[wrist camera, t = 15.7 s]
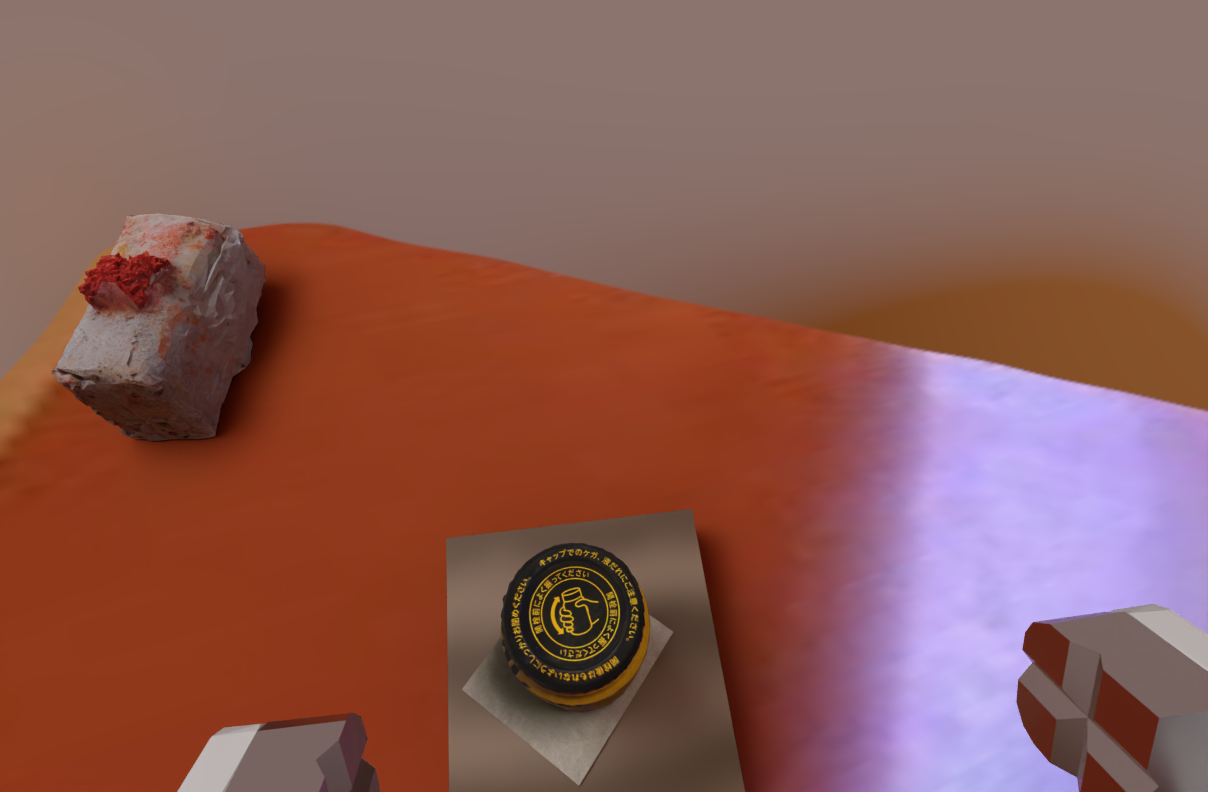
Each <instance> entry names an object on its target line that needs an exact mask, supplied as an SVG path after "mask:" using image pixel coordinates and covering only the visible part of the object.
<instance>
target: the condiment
mask: <svg viewBox="0 0 1208 792" xmlns="http://www.w3.org/2000/svg"><path fill="white" fill-rule="evenodd" d="M502 600H503V608H502V611H501V619H502V620H501V632H500V633H501V637H500V638H499V640H498V641H497V642H496V644H495V645H494V646H493V648H492V649H491V651H490V652H489V653H488V655H487V656H486V657H485V659H484V660H483V662H482V663H481V664H480V665H479V667H478V668H477V670H476V671H475V672H474V673H473V675H472V676H471V678H470V679H469V680H468V682H467V683H466V685H465V686H464V687H463V689H462V690H463V691H464V692H465V693H467V694H468V695H469V696H470V697H471V698H473V699H474V700H475V701H477V702H478V703H479V704H480V705H481V706H483V707H484V708H485V709H486V710H488V711H489V712H490V713H491V714H493V715H494V716H495V717H496V718H498V719H499V720H500V721H501V722H502V723H503V724H505V725H506V726H507V727H509V728H510V729H511V730H512V731H513V732H515V733H516V734H517V735H518V736H519V737H521V738H522V739H523V740H524V741H525V742H527V743H529V744H530V746H532V747H533V748H534V749H535V750H536V751H538V752H539V753H540V754H541V755H542V756H544V757H545V758H546V759H547V760H548V761H550V762H551V763H552V764H553V765H555V766H556V767H557V768H558V769H560V770H561V771H562V772H563V773H564V774H565V775H567V776H568V777H569V778H570V779H572V780H573V781H574V782H575V783H576V784H578V785H580V783H581V782H582V780H583V778H584V777H585V775H586V774H587V772H588V770H589V769H590V767H591V765H592V764H593V762H594V761H595V759H596V757H597V756H598V754H599V752H600V751H601V749H602V748H603V746H604V744H605V743H606V741H607V739H608V737H609V736H610V734H611V733H612V731H613V730H614V728H615V726H616V725H617V723H618V722H619V720H620V718H621V717H622V715H623V713H624V712H625V710H626V709H627V707H628V705H629V704H630V702H631V700H632V699H633V697H634V695H635V694H636V692H637V691H638V689H639V687H640V686H641V684H642V682H643V681H644V679H645V678H646V676H647V674H648V673H649V671H650V669H651V668H652V666H653V665H654V663H655V661H656V660H657V658H658V656H659V655H660V653H661V652H662V650H663V648H664V647H665V645H666V643H667V642H668V640H669V639H670V637H671V635H672V634H673V631H672V630H670V629H669V628H667V627H666V626H665V625H663V624H662V623H660V622H659V621H658V620H656V619H655V618H653V617H652V616H650V615H649V612H648V606H647V603H646V599H645V595H644V593H643V591H642V590H641V588H640V586H639V584H638V582H637V580H636V578H635V577H634V576H633V575H632V573H631V572H630V570H629V568H628V566H627V565H626V564H625V563H624V562H623V561H622V560H620V559H619V558H617V557H616V556H615V555H614V554H613V553H611V552H608V551H606V550H604V549H603V548H600V547H597V546H592V545H587V544H585V543H565V544H559V545H554V546H552V547H550V548H547V549H544V550H543V551H541V552H539V553H538V554H536V555H535V556H533V557H532V558H531V559H529V560H528V561H527V562H526V563H525V564H524V565H523V566H522V567H521V568H520V569H519V570H518V572H517V573H516V574H515V576H514V579H513V580H512V581H511V582H510V583H509V586H508V590H507V593H506V594H505V595H504V596H503V599H502Z"/></svg>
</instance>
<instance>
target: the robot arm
mask: <svg viewBox="0 0 1208 792" xmlns="http://www.w3.org/2000/svg"><path fill="white" fill-rule="evenodd" d="M1023 651H1024V652H1025V654H1026V655H1027V656H1028V658H1029V659H1030V660H1031V662H1032V664H1031V665H1030V666H1029V667H1028V669H1027V670H1026V671H1025V672H1024V673H1023V675H1022V676H1021V677H1020V678H1019V679H1018V690H1017V705H1018V709H1019V712H1020V716H1021V719H1022V722H1023V726H1024V727H1025V729H1026V731H1027V733H1028V734H1029V736H1030V738H1031V740H1032V741H1033V743H1034V744H1035V746H1036V747H1037V748H1038V749H1039V750H1040V752H1041V753H1042V754H1043V755H1044V756H1045V757H1046V759H1047V760H1048V761H1049V762H1050V763H1052V764H1053V765H1055V766H1057V767H1059V768H1061V769H1063V770H1065V771H1066V772H1068V773H1070V774H1072V775H1074V776H1076V777H1077V779H1078V788H1079V792H1208V634H1207V633H1205V632H1204V631H1202V630H1201V629H1199V628H1198V627H1196V626H1195V625H1193V624H1192V623H1190V622H1189V621H1187V620H1186V619H1184V618H1183V617H1181V616H1180V615H1178V614H1177V613H1175V612H1174V611H1172V610H1170V609H1167V608H1164V607H1161V606H1158V605H1155V604H1150V605H1143V606H1137V607H1130V608H1124V609H1117V610H1113V611H1111V612H1101V613H1094V614H1087V615H1080V616H1073V617H1066V618H1059V619H1052V620H1045V621H1038V622H1033V623H1032V624H1031V625H1030V627H1029V628H1028V630H1027V631H1026V632H1025V637H1024V644H1023ZM367 739H368V738H367V735H366V732H365V729H364V725H363V722H362V719H361V716H359V715H357V714H355V713H347V714H338V715H329V716H320V717H310V718H301V719H292V720H283V721H273V722H268V723H267V724H255V725H245V726H236V727H226V728H223V729H221V730H220V731H219V732H217V733H216V734H215V735H213V736H212V737H211V738H210V739H209V741H208V743H207V744H206V746H205V747H204V749H203V751H202V752H201V754H200V756H199V757H198V759H197V760H196V762H195V764H194V765H193V767H192V769H191V770H190V772H189V773H188V775H187V777H186V778H185V780H184V782H183V783H182V785H181V786H180V788H179V790H178V791H177V792H380V789H379V782H378V778H377V774H376V770H375V768H374V767H373V766H372V765H370V764H369V763H368V762H366V761H365V760H364V759H362V754H363V751H364V748H365V745H366V742H367Z"/></svg>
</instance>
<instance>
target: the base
mask: <svg viewBox="0 0 1208 792" xmlns="http://www.w3.org/2000/svg"><path fill="white" fill-rule="evenodd" d="M565 543H585V544H587V545H592V546H597V547H600V548H603V549H604V550H606V551H608V552H611V553H613V554H614V555H615V556H616V557H617V558H619V559H620V560H622V561H623V562H624V563H625V564H626V565H627V566H628V568H629V570H630V572H631V573H632V575H633V576H634V577H635V578H636V580H637V582H638V584H639V586H640V588H641V590H642V591H643V593H644V595H645V599H646V603H647V606H648V612H649V615H650V616H652V617H653V618H655V619H656V620H658V621H659V622H660V623H662V624H663V625H665V626H666V627H667V628H669V629H670V630H672V631H673V634H672V635H671V637H670V639H669V640H668V642H667V643H666V645H665V647H664V648H663V650H662V652H661V653H660V655H659V656H658V658H657V660H656V661H655V663H654V665H653V666H652V668H651V669H650V671H649V673H648V674H647V676H646V678H645V679H644V681H643V682H642V684H641V686H640V687H639V689H638V691H637V692H636V694H635V695H634V697H633V699H632V700H631V702H630V704H629V705H628V707H627V709H626V710H625V712H624V713H623V715H622V717H621V718H620V720H619V722H618V723H617V725H616V726H615V728H614V730H613V731H612V733H611V734H610V736H609V737H608V739H607V741H606V743H605V744H604V746H603V748H602V749H601V751H600V752H599V754H598V756H597V757H596V759H595V761H594V762H593V764H592V765H591V767H590V769H589V770H588V772H587V774H586V775H585V777H584V778H583V780H582V782H581V783H580V785H578V784H576V783H575V782H574V781H573V780H572V779H570V778H569V777H568V776H567V775H565V774H564V773H563V772H562V771H561V770H560V769H558V768H557V767H556V766H555V765H553V764H552V763H551V762H550V761H548V760H547V759H546V758H545V757H544V756H542V755H541V754H540V753H539V752H538V751H536V750H535V749H534V748H533V747H532V746H530V744H529V743H527V742H525V741H524V740H523V739H522V738H521V737H519V736H518V735H517V734H516V733H515V732H513V731H512V730H511V729H510V728H509V727H507V726H506V725H505V724H503V723H502V722H501V721H500V720H499V719H498V718H496V717H495V716H494V715H493V714H491V713H490V712H489V711H488V710H486V709H485V708H484V707H483V706H481V705H480V704H479V703H478V702H477V701H475V700H474V699H473V698H471V697H470V696H469V695H468V694H467V693H465V692H464V691H463V690H462V689H463V687H464V686H465V685H466V683H467V682H468V680H469V679H470V678H471V676H472V675H473V673H474V672H475V671H476V670H477V668H478V667H479V665H480V664H481V663H482V662H483V660H484V659H485V657H486V656H487V655H488V653H489V652H490V651H491V649H492V648H493V646H494V645H495V644H496V642H497V641H498V640H499V638H500V637H501V633H500V632H501V620H502V619H501V611H502V608H503V600H502V599H503V596H504V595H505V594H506V593H507V590H508V586H509V583H510V582H511V581H512V580H513V579H514V576H515V574H516V573H517V572H518V570H519V569H520V568H521V567H522V566H523V565H524V564H525V563H526V562H527V561H528V560H529V559H531V558H532V557H533V556H535V555H536V554H538V553H539V552H541V551H543V550H544V549H547V548H550V547H552V546H554V545H559V544H565ZM446 545H447V632H448V718H449V792H745V788H744V783H743V778H742V773H741V767H740V762H739V757H738V751H737V746H736V741H735V735H734V730H733V725H732V720H731V714H730V709H729V704H728V698H727V693H726V688H725V683H724V677H723V672H722V667H721V661H720V656H719V651H718V645H717V640H716V635H715V630H714V624H713V619H712V614H711V608H710V603H709V598H708V593H707V587H706V582H705V577H704V571H703V566H702V561H701V555H700V550H699V545H698V540H697V534H696V529H695V524H694V518H693V513H692V509H688V510H680V511H672V512H663V513H655V514H647V515H638V516H630V517H622V518H613V519H605V520H597V521H588V522H580V523H572V524H563V525H555V526H547V527H538V528H530V529H521V530H513V531H505V532H496V533H488V534H480V535H471V536H463V537H455V538H446Z"/></svg>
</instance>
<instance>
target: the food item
mask: <svg viewBox="0 0 1208 792" xmlns="http://www.w3.org/2000/svg"><path fill="white" fill-rule="evenodd" d="M123 230H124V231H123V232H121V235H120V237H119V239H118V240H117V241H116V243H115V245H114V248H113V251H112V253H111V255H108V256H101V259H100V260H99V261H100V262H98V263H97V264H96V265H97V267H96V269H93V270H89V271H86V272H85V274H86V275H87V276H88V278H86V279H84V280H85V283H84V284H83V285H81V286H79V287H78V289H79V291H80V293H82V294H84V295H85V300H86V301H87V302H88V303H89V305H88V307H87V310H86V313H85V315H84V316H83V319H82V320H81V321H80V323H79V325H78V327H77V328H76V329H75V330H74V334H73V336H72V338H71V339H70V341H69V343H68V345H67V346H66V348H65V350H64V353H63V356H62V358H61V359H60V360H59V361H58V365H57V367H56V368H55V369H53V370H52V374H55V375H56V377H57V381H58V382H59V383H60V384H62V385H63V386H64V387H65V388H66V389H68V390H70V391H71V392H72V393H73V394H74V395H75V397H76V399H78V400H80V401H81V402H83V403H84V404H85V405H87V406H90V407H91V408H92V409H93V410H94V411H95V412H96V414H98V415H100V416H101V417H103V418H104V419H105V420H106V421H108V422H110V423H111V424H113V425H115V426H116V425H118V426H119V427H120V428H121V432H122V434H125V435H127V436H129V437H132V438H139V439H148V440H149V441H162V440H168V439H203V438H210V437H215V435H216V429H217V424H218V421H219V415H220V409H221V404H222V403H223V402H224V400H225V397H226V395H227V392H228V389H229V386H230V383H231V380H232V377H233V376H235V375H236V374H238V373H239V372H240V371H242V370H243V369H245V368H246V367H247V365H248V364H249V363H250V360H251V350H252V345H253V343H252V341H251V338H250V336H251V333H252V331H253V330H254V328H255V326H256V325H257V323H258V318H257V311H256V308H257V305H258V302H259V298H260V297H261V296H262V288H263V285H264V283H265V282H266V279H265V265H264V264H263V263H261V262H260V261H259V258H258V256H257V255H256V254H255V253H254V252H253V251H252V250H251V249H250V248H249V247H248V245H247V244H246V242H245V241H244V237H243V235H242V234H241V233H240V232H239V231H238V230H235V229H234V227H233V226H231V225H230V226H226V225H224V224H222V223H212V222H210V221H209V220H205V219H199V218H193V217H186V216H178V215H163V214H159V213H157V214H151V215H150V214H145V215H132V216H127V218H126V221H125V225H124V228H123Z"/></svg>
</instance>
